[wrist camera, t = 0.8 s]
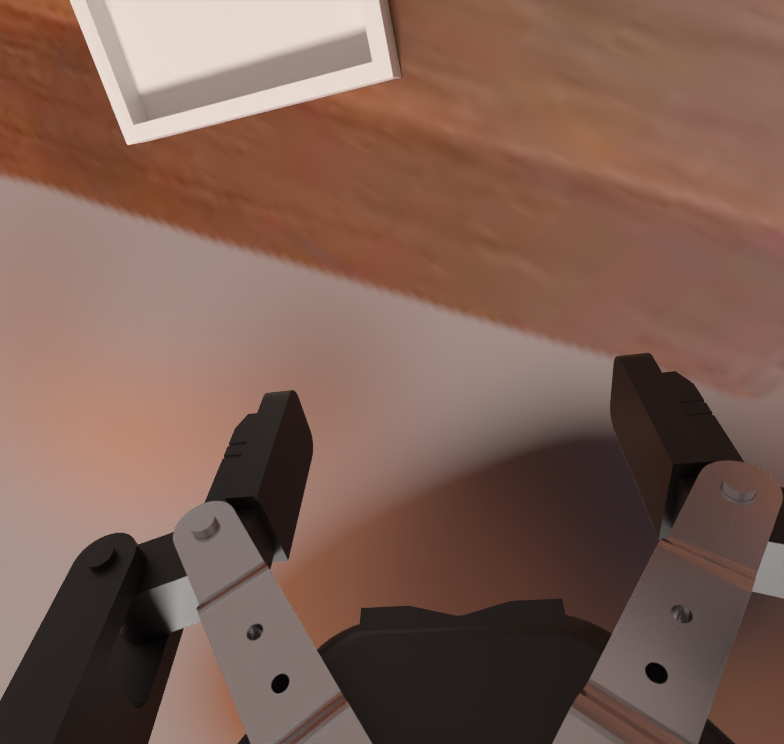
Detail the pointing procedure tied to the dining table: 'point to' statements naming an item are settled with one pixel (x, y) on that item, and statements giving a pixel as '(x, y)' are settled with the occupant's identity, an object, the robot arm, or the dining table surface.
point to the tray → (230, 57)
